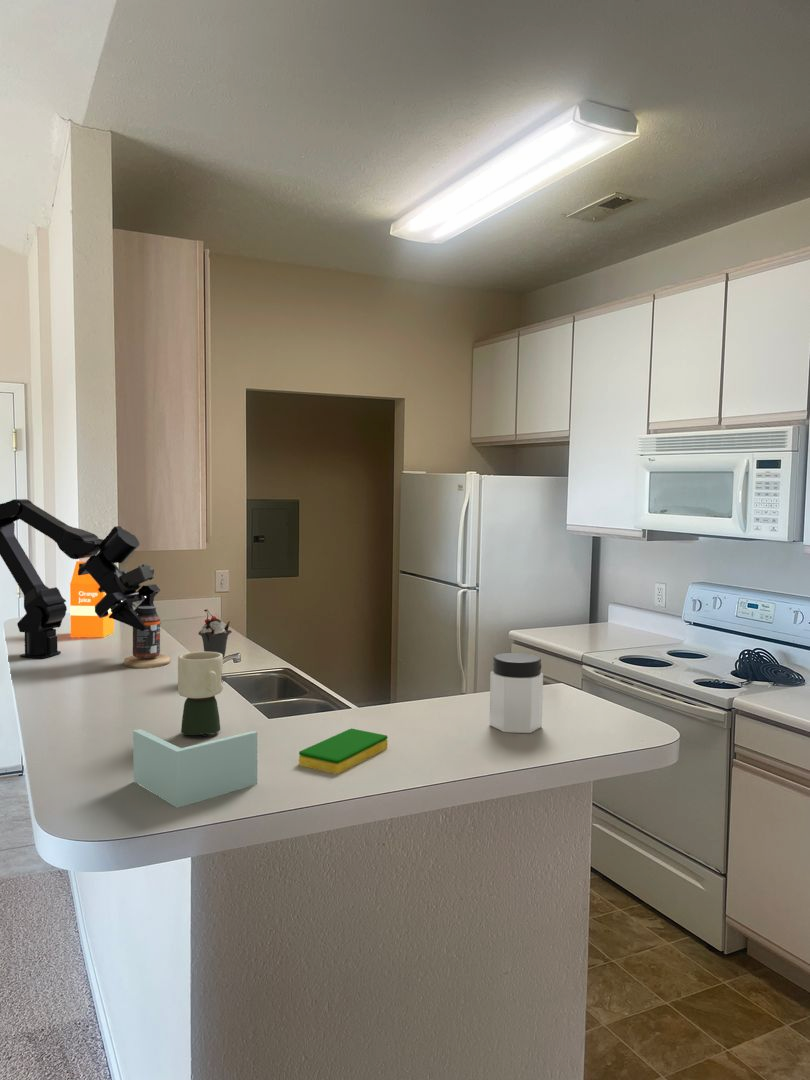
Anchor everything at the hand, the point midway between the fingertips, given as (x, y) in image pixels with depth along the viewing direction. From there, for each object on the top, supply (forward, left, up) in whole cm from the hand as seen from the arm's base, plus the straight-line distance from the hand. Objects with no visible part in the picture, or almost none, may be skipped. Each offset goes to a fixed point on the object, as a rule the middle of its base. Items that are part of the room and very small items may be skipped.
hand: (151, 627), depth 181 cm
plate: (-1, 0, -8) cm, 8 cm away
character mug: (+37, -43, -8) cm, 57 cm away
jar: (+86, -23, -8) cm, 89 cm away
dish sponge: (+63, -46, -9) cm, 78 cm away
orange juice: (-34, +25, -9) cm, 43 cm away
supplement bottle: (-1, 0, -7) cm, 7 cm away
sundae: (+21, -9, -8) cm, 24 cm away
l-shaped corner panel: (+47, -63, -9) cm, 79 cm away
